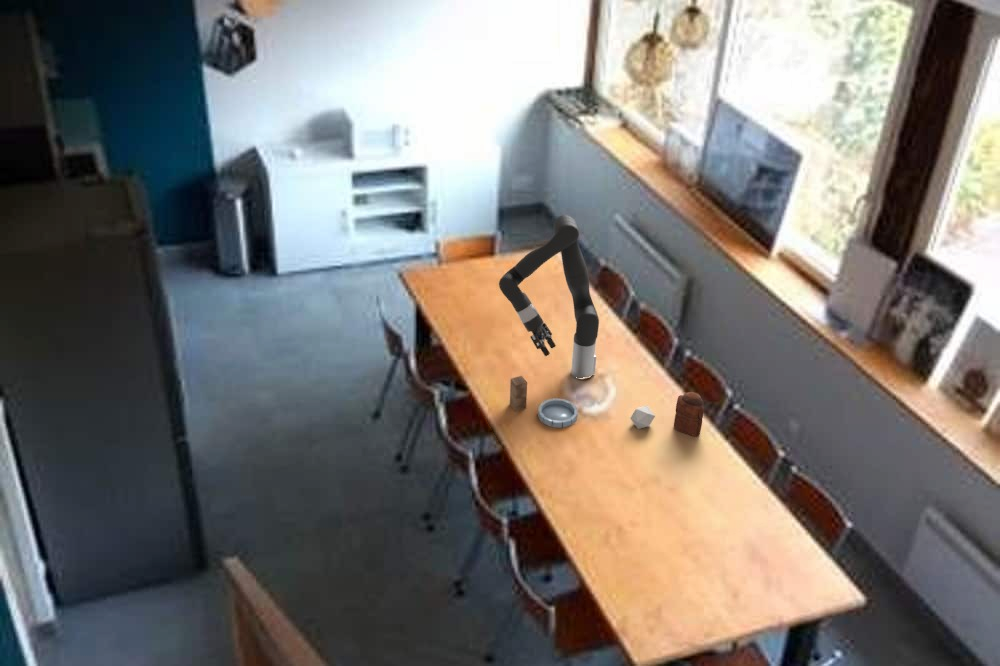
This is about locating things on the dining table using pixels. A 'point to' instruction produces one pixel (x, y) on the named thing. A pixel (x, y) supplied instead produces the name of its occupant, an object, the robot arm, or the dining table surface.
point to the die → (642, 417)
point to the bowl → (557, 413)
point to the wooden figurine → (689, 414)
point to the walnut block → (518, 393)
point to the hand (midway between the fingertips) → (550, 351)
